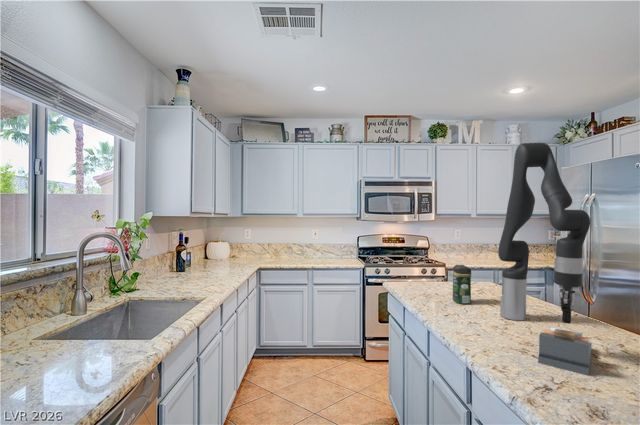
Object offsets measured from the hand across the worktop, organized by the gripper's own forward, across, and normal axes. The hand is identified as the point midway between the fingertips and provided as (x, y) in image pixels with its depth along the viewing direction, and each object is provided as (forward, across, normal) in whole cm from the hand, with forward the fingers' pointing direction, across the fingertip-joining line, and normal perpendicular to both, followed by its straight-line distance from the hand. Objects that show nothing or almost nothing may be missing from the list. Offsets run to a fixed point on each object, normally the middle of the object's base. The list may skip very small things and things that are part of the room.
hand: (566, 322), depth 113 cm
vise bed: (+9, -5, 0) cm, 10 cm away
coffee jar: (+11, +38, +46) cm, 60 cm away
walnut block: (+7, -10, 0) cm, 13 cm away
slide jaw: (+7, -7, -1) cm, 10 cm away
